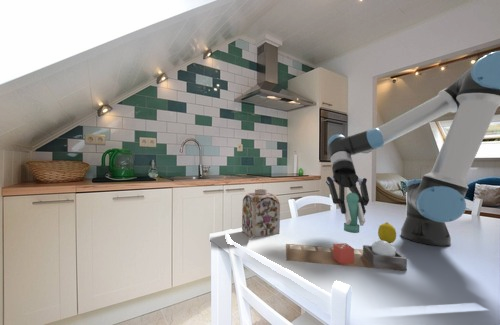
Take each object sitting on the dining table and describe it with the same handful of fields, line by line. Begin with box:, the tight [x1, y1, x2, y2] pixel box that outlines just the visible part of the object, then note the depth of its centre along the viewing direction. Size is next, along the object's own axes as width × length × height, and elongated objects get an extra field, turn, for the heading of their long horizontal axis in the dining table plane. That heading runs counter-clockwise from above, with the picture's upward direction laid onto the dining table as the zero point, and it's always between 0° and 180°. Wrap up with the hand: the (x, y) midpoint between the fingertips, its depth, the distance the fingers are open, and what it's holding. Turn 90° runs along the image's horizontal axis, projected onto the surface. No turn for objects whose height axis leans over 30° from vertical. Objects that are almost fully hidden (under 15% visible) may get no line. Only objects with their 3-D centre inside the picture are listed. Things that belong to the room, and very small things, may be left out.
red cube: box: [332, 242, 355, 264], centre depth 62 cm, size 4×4×4 cm
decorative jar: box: [241, 188, 281, 239], centre depth 87 cm, size 12×12×18 cm
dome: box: [371, 240, 396, 257], centre depth 61 cm, size 6×6×5 cm
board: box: [285, 243, 408, 272], centre depth 65 cm, size 31×13×4 cm, turn 81°
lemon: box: [377, 221, 397, 244], centre depth 78 cm, size 6×6×8 cm
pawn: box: [343, 192, 360, 234], centre depth 68 cm, size 4×4×12 cm
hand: (355, 222), depth 64 cm, fingers closed on pawn, 3 cm apart
